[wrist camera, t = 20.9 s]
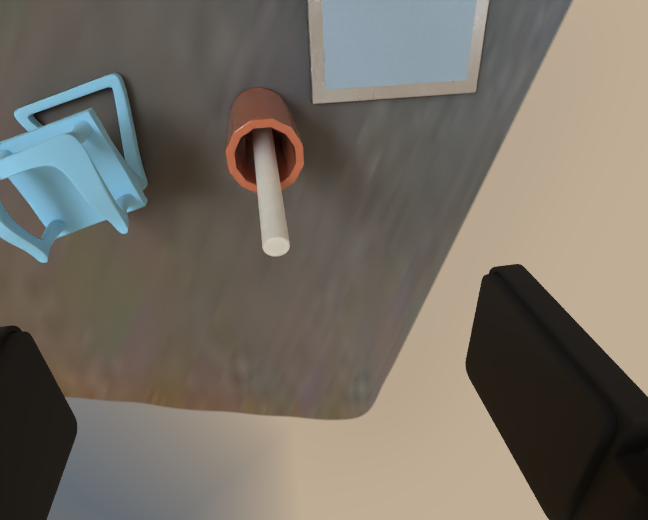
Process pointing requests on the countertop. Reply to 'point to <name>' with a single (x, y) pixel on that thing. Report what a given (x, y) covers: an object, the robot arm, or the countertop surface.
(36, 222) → the countertop surface
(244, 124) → the pen pot
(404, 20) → the plate
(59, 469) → the robot arm
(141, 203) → the chair
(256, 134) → the stylus
